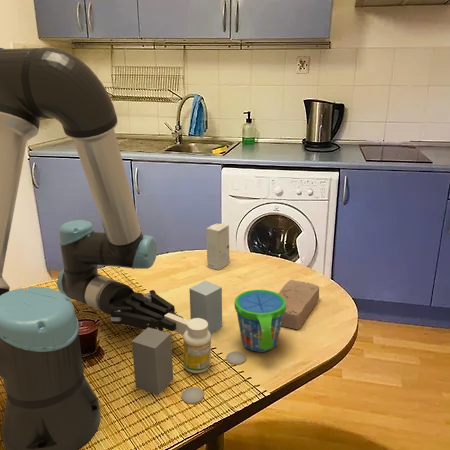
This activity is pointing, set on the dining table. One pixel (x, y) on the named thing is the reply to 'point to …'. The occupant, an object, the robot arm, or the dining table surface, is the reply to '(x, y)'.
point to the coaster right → (236, 358)
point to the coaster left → (192, 395)
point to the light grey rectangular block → (207, 304)
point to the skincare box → (217, 246)
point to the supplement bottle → (197, 346)
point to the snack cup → (260, 318)
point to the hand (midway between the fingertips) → (191, 329)
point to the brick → (298, 302)
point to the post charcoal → (152, 360)
